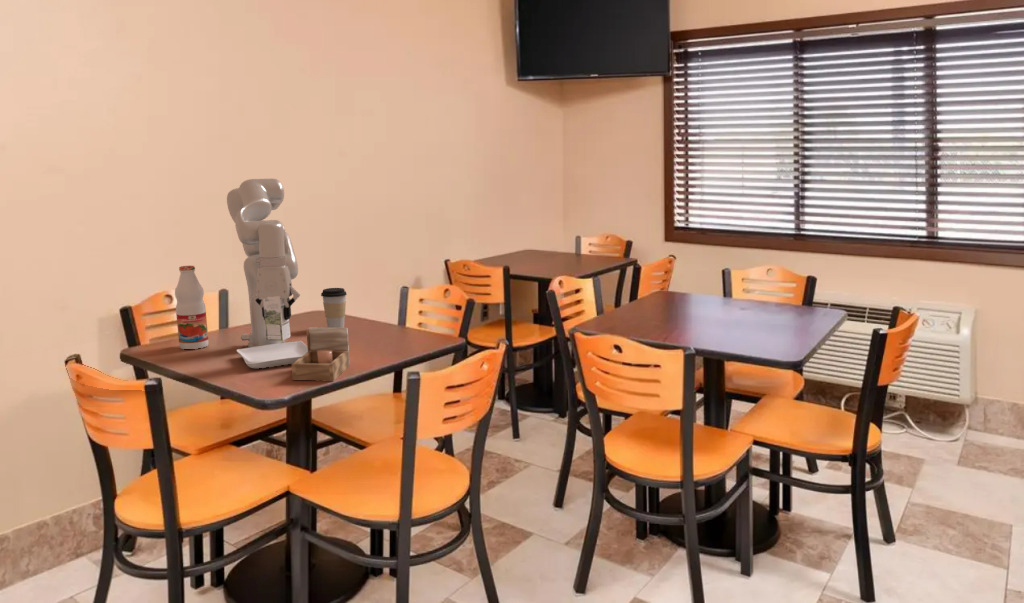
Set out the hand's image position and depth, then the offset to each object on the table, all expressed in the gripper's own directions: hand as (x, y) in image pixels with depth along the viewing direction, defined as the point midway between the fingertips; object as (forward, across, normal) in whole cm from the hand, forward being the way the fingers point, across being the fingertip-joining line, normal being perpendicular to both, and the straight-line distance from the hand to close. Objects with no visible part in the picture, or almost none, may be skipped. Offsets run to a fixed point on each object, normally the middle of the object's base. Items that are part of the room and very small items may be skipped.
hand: (277, 318), depth 244 cm
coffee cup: (+14, +4, +47) cm, 49 cm away
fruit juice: (+14, -37, +18) cm, 44 cm away
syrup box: (+7, 0, 0) cm, 7 cm away
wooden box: (+14, +18, -14) cm, 27 cm away
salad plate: (+14, -2, +1) cm, 15 cm away
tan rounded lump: (+14, +18, -10) cm, 25 cm away
